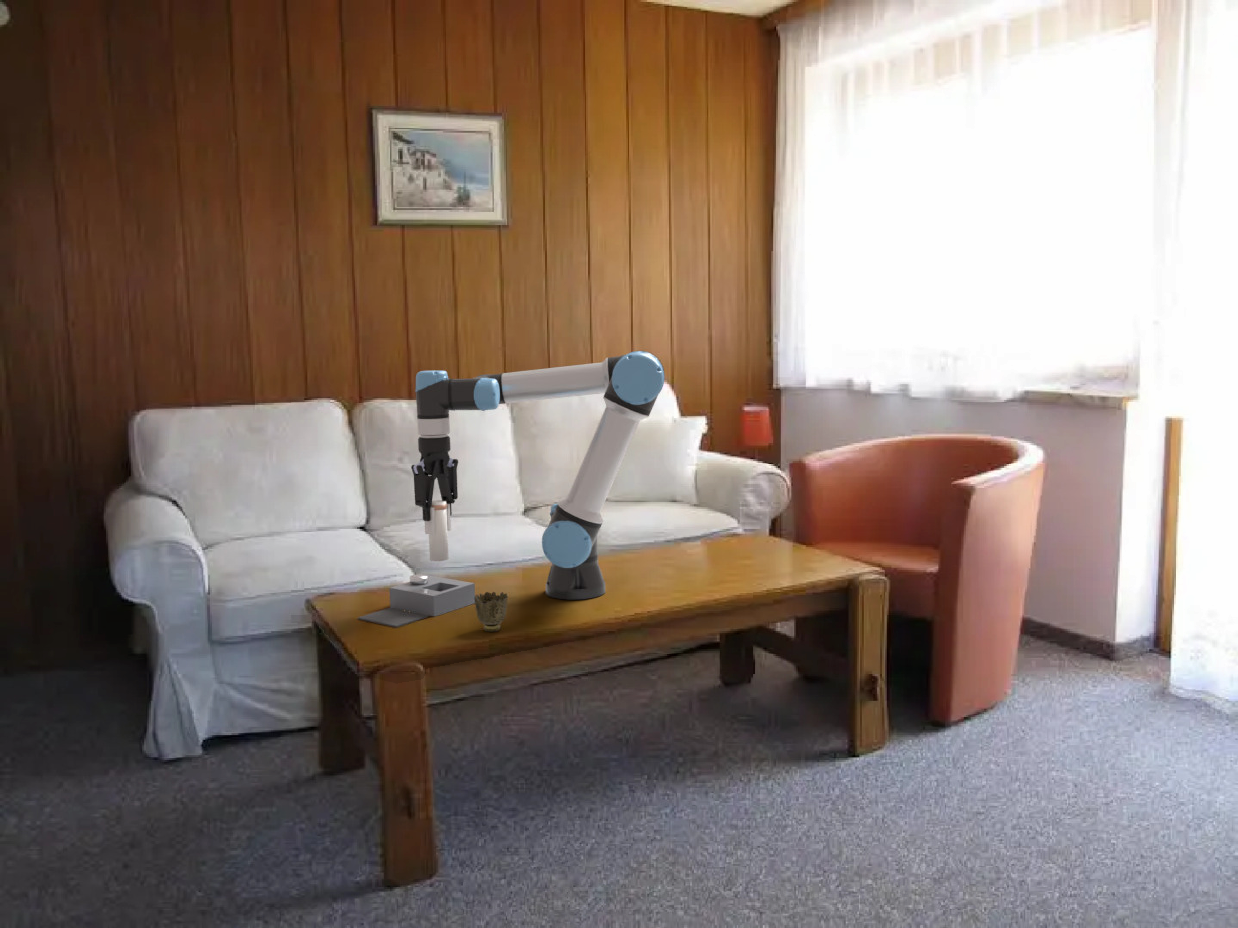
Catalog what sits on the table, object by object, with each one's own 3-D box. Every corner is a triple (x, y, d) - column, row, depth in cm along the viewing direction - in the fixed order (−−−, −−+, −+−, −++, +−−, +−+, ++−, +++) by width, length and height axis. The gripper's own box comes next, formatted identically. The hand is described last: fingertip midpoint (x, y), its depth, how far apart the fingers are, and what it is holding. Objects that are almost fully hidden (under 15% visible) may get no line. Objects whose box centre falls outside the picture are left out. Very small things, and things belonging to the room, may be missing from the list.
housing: (475, 603, 259) (474, 583, 259) (434, 616, 248) (433, 596, 247) (431, 594, 268) (430, 575, 267) (390, 607, 257) (389, 587, 256)
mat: (428, 617, 248) (428, 615, 248) (396, 627, 240) (396, 625, 240) (390, 609, 255) (390, 607, 255) (358, 619, 247) (357, 617, 247)
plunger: (432, 599, 261) (431, 575, 260) (419, 603, 258) (418, 579, 257) (420, 596, 264) (418, 573, 263) (407, 600, 260) (405, 577, 259)
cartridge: (452, 558, 255) (450, 501, 254) (439, 562, 252) (436, 504, 250) (439, 556, 258) (436, 499, 256) (425, 559, 254) (423, 502, 252)
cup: (469, 633, 234) (468, 598, 233) (485, 624, 241) (483, 590, 240) (499, 636, 232) (498, 601, 231) (514, 627, 239) (513, 592, 237)
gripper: (448, 431, 260) (452, 524, 263) (395, 438, 246) (400, 536, 249) (471, 432, 256) (474, 527, 259) (418, 440, 242) (422, 540, 245)
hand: (438, 531), depth 254 cm, fingers closed on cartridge, 4 cm apart
